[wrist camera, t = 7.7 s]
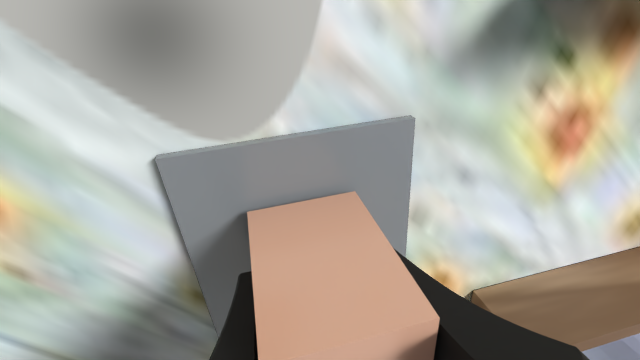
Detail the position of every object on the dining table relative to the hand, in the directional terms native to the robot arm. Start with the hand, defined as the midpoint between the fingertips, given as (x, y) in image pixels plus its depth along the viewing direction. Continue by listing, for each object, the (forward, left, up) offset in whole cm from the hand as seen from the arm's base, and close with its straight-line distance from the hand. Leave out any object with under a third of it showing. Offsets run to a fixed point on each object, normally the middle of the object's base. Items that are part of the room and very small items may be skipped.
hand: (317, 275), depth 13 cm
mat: (0, 0, -3) cm, 3 cm away
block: (0, 0, -2) cm, 2 cm away
